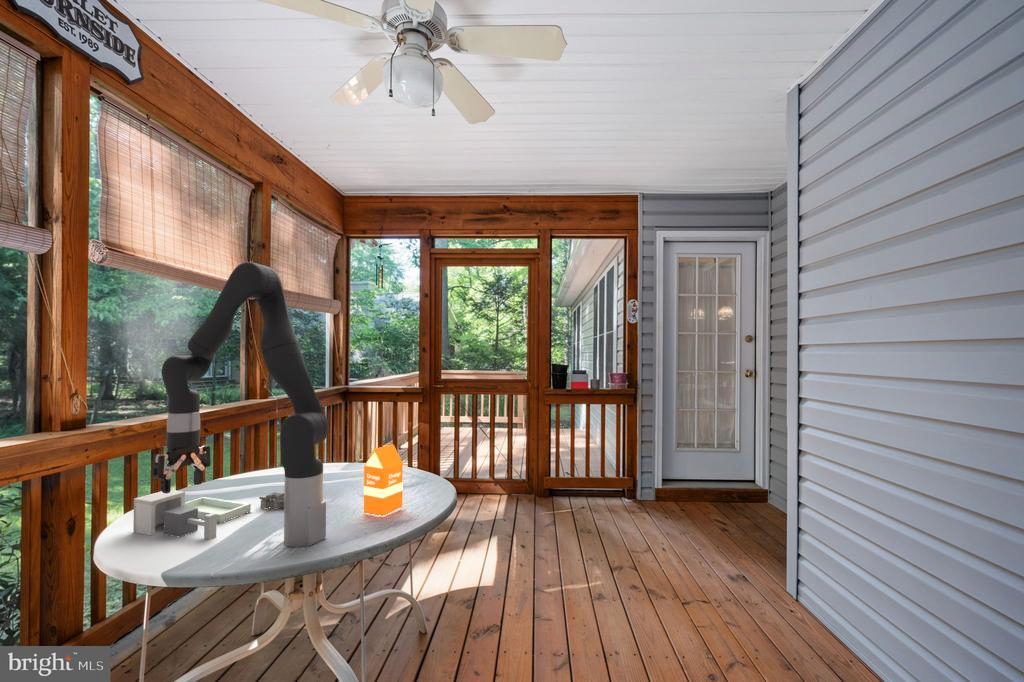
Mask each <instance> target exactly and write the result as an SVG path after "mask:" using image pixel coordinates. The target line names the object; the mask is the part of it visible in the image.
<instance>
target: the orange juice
mask: <svg viewBox="0 0 1024 682" xmlns="http://www.w3.org/2000/svg"><path fill="white" fill-rule="evenodd" d="M403 465H404V462H403V461H402V459H401V457H400V454H399V452H398V451H397V449H396V446H395V445H394V443H392V444H388V445H384V446H380V447H377V448H373V450H372V452H371V454H370V455H369V457H368V459H367V461H366V463H365V464H364V466H363V514H364V513H369V514H375V515H381V516H383V515H386V514H388V513H390V512H392V511H394V510H396V509H398V508H401V507H402V508H403V494H404V493H403V491H404V489H403V487H404V483H403V479H404V478H403V475H404V474H403Z"/></svg>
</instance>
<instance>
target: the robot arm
mask: <svg viewBox="0 0 1024 682" xmlns="http://www.w3.org/2000/svg"><path fill="white" fill-rule="evenodd" d="M249 298H252V299H255V300H256V302H257V304H258V307H259V309H260V311H261V312H260V313H261V316H262V330H261V334H260V340H259V341H260V344H259V345H260V346H259V347H260V351H261V356H262V358H263V361H264V364H265V367H266V370H267V372H268V374H269V375H270V377H272V379H273V380H274V381H275V382H276V384H278V386H279V388H281V389H282V390H283V392H284V393H285V394H286V395H287V397H288V399H289V401H290V404H291V405H292V406H291V407H292V409H293V411H294V413H293V414H291V415H289V416H287V417H286V418H285V419H284V421H283V422H282V424H281V427H280V434H279V439H280V440H279V441H280V459H281V464H282V468H283V470H284V471H283V472H284V488H283V489H284V492H283V493H284V508H283V514H284V515H283V518H284V519H283V543H284V546H287V547H291V548H297V547H298V548H299V547H308V546H309V547H310V545H311V546H312V544H313V545H314V543H315V544H317V543H319V542H320V541H322V540H324V539H326V538H325V537H327V536H326V534H327V532H326V531H327V502H326V501H324V463H323V461H322V460H321V459H318V458H316V453H315V446H316V445H319V444H321V443H322V442H324V441H325V440H326V438H327V437H328V435H329V430H330V425H329V421H328V418H327V415H326V412H325V410H324V408H323V407H322V404H321V402H320V400H319V397H318V396H317V392H316V391H315V389H314V386H313V383H312V380H311V377H310V374H309V371H308V369H307V366H306V362H305V359H304V356H303V353H302V349H301V347H300V344H299V343H300V342H299V341H298V337H297V336H296V333H295V330H294V326H293V322H292V320H291V317H290V314H289V310H288V307H287V303H286V297H285V293H284V289H283V283H282V280H281V278H280V276H279V273H278V272H277V271H276V270H275V269H274V268H272V267H270V266H267V265H263V264H260V263H255V262H252V261H244V262H241V263H240V264H238V265H237V266H236V267H235V268H234V269H233V270H232V272H231V273H230V275H229V277H228V279H227V280H226V283H225V285H224V286H223V288H222V290H221V292H220V294H219V295H218V298H217V300H216V302H215V303H214V305H213V307H212V309H211V310H210V312H209V314H208V315H207V317H206V318H205V319H204V320H203V322H202V324H201V325H200V326H199V327H198V328H197V329H196V330H195V332H194V333H193V334H192V336H191V338H190V339H189V340H188V342H187V349H188V351H189V352H191V353H190V354H189V355H172V356H169V357H168V358H166V359H165V361H164V362H163V364H162V366H161V367H162V368H161V377H162V382H163V384H164V387H165V391H166V394H167V397H168V398H167V399H168V407H167V408H168V410H167V411H168V412H167V420H166V440H165V441H166V443H165V444H166V448H167V449H166V450H167V452H166V453H165V454H164V453H163V454H158V453H157V454H154V456H153V459H152V460H153V463H152V472H151V473H152V476H151V477H152V478H153V479H159V480H160V483H159V484H160V488H159V489H160V491H162V492H163V493H166V494H167V493H170V491H171V490H172V489H171V488H172V487H171V484H172V483H171V482H172V481H171V480H172V478H171V477H172V476H173V474H174V473H175V472H176V471H177V470H178V468H184V467H185V466H191V467H192V468H193V469H194V470H193V485H197V486H199V485H201V484H202V482H203V480H204V470H205V469H206V468H209V467H211V462H212V461H211V447H210V446H209V445H200V444H201V414H200V413H201V412H200V402H201V400H200V399H201V397H200V393H199V392H198V391H197V390H195V389H190V386H189V384H188V382H193V381H198V380H200V379H201V378H203V377H204V376H205V375H206V374H208V371H209V370H210V367H211V365H212V363H213V360H214V359H215V355H216V353H217V352H218V351H219V350H220V348H221V347H222V346H223V345H224V343H226V340H228V338H229V336H230V334H231V333H232V329H233V324H234V319H235V316H236V313H237V312H238V311H239V309H240V307H241V306H242V305H243V304H244V303H245V302H246V301H247V300H248V299H249ZM199 445H200V446H199ZM198 455H200V457H198ZM199 458H200V459H199ZM165 463H166V464H165ZM323 538H324V539H323ZM321 539H322V540H321ZM319 540H320V541H319ZM316 542H317V543H316Z"/></svg>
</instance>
